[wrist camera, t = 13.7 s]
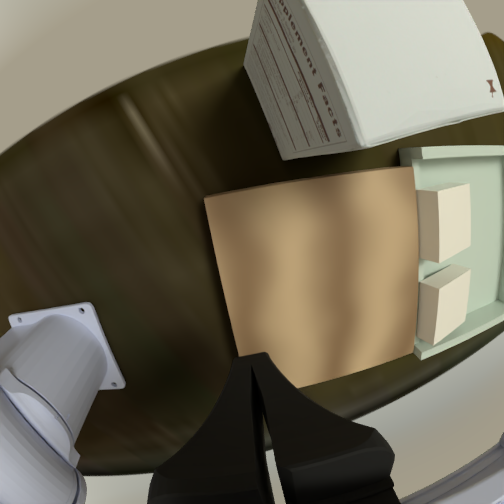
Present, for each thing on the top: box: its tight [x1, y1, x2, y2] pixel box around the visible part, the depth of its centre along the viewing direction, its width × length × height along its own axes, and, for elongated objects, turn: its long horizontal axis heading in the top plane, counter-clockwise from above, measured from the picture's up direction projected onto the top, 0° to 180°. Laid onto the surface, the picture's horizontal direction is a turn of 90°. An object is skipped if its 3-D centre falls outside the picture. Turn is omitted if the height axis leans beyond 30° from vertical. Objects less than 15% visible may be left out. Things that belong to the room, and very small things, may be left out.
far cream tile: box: [416, 264, 471, 346], centre depth 21 cm, size 5×5×2 cm
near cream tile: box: [416, 182, 471, 263], centre depth 19 cm, size 5×5×2 cm
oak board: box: [204, 166, 419, 388], centre depth 21 cm, size 14×15×2 cm
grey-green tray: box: [398, 145, 504, 360], centre depth 21 cm, size 14×17×3 cm
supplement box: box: [244, 0, 504, 160], centre depth 12 cm, size 7×7×13 cm
